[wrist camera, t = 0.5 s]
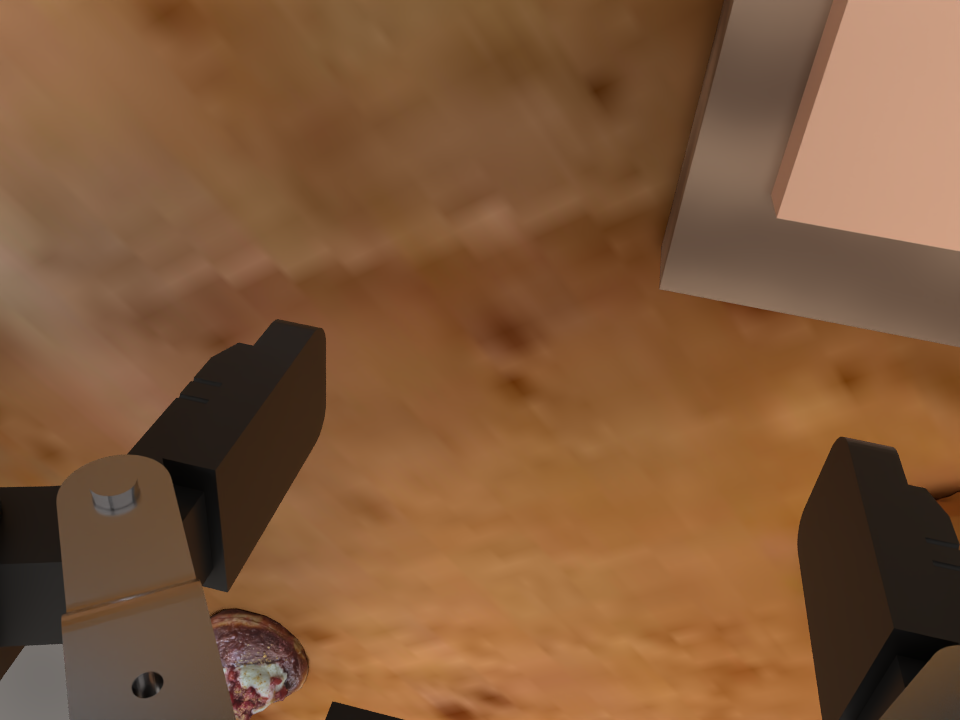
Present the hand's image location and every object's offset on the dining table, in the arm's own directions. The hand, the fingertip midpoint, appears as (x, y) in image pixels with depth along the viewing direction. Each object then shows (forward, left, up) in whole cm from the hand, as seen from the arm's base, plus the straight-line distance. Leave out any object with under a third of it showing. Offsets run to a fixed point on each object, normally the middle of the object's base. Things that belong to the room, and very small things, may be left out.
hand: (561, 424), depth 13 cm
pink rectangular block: (-2, +9, -20) cm, 21 cm away
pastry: (+41, -17, -24) cm, 51 cm away
